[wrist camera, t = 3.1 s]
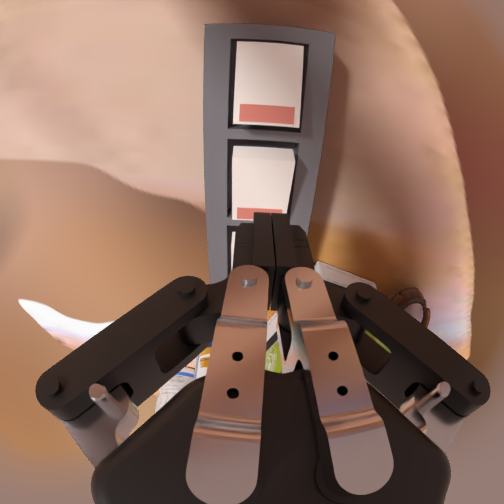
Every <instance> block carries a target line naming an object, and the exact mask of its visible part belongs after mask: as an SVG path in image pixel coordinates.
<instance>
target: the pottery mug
mask: <svg viewBox="0 0 504 504" xmlns="http://www.w3.org/2000/svg"><path fill="white" fill-rule="evenodd" d="M391 301H393V302H394V303H395V304H397V305H398V306H399V307H401V308H402V309H403V310H404V309H405V308H406V307H407V306H409V305H410V304H414V303H419V304H421V305H422V306H423V319H422V322H421V324H422V325H424V326H425V327H426V328H427V327H428V324H429V321H430V309H429V308H426V301H425V299H424V297H423V295H422V294H421V292H420V291H419V290H418V289H417V288H411V289H405V290H402V291H400V292H399V294H396V295H395V296H394V297H393V298H392V299H391Z"/></svg>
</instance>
